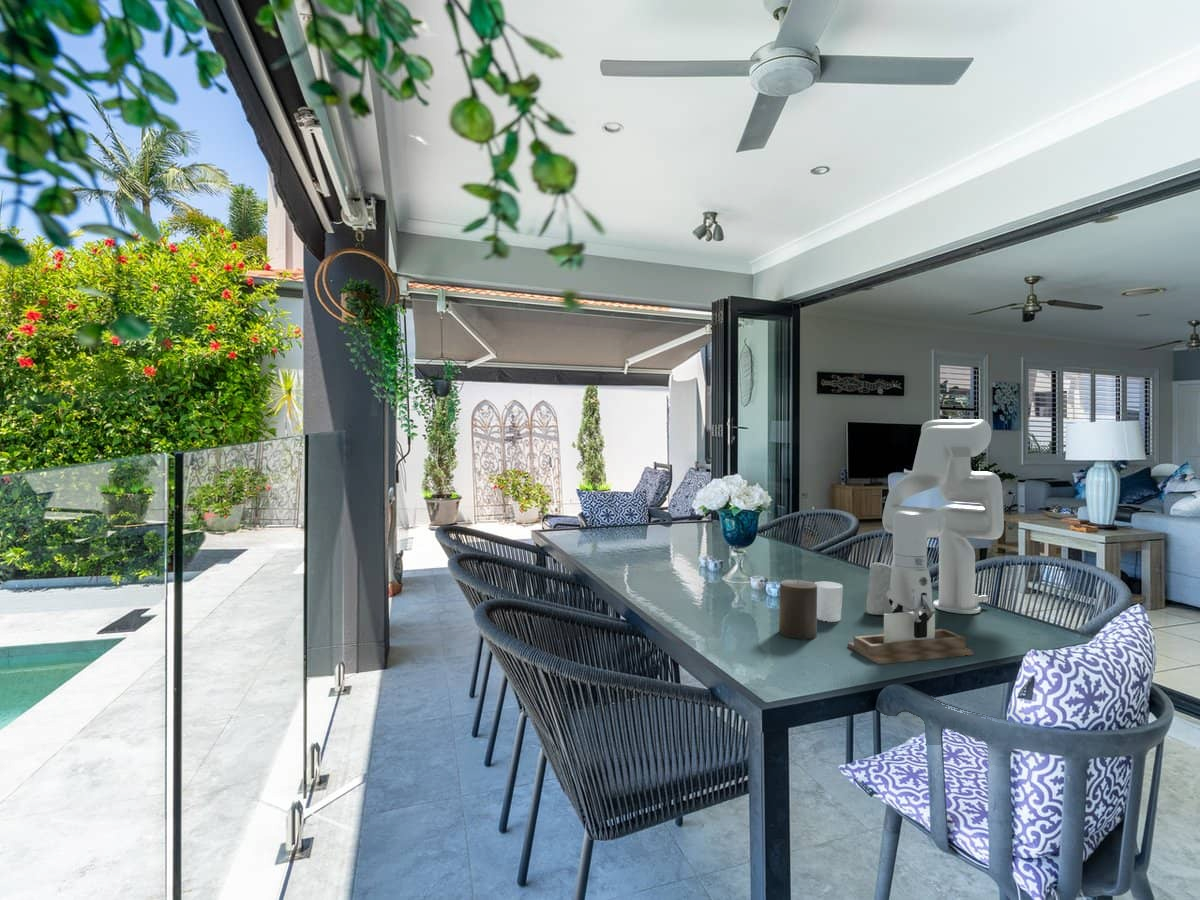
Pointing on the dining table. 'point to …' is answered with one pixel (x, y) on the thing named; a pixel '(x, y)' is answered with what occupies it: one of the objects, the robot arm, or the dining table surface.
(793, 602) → the pillar candle
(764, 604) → the dining table surface
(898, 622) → the white rectangular block
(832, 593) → the white cup
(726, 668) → the dining table surface
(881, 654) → the track frame
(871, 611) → the decorative stone
